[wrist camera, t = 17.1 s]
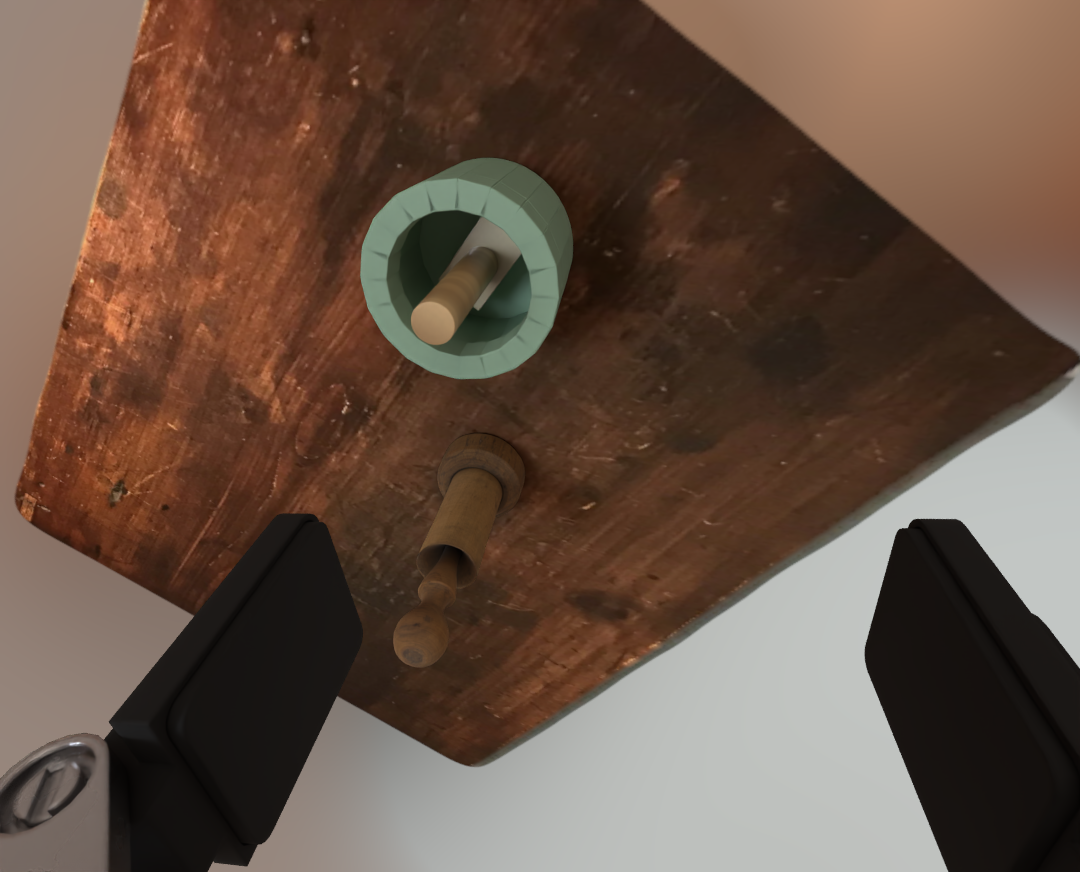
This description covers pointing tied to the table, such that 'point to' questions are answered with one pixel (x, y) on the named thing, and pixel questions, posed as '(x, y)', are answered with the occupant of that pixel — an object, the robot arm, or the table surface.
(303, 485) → the table surface
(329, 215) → the table surface
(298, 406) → the table surface
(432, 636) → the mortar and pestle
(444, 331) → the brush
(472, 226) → the jar
